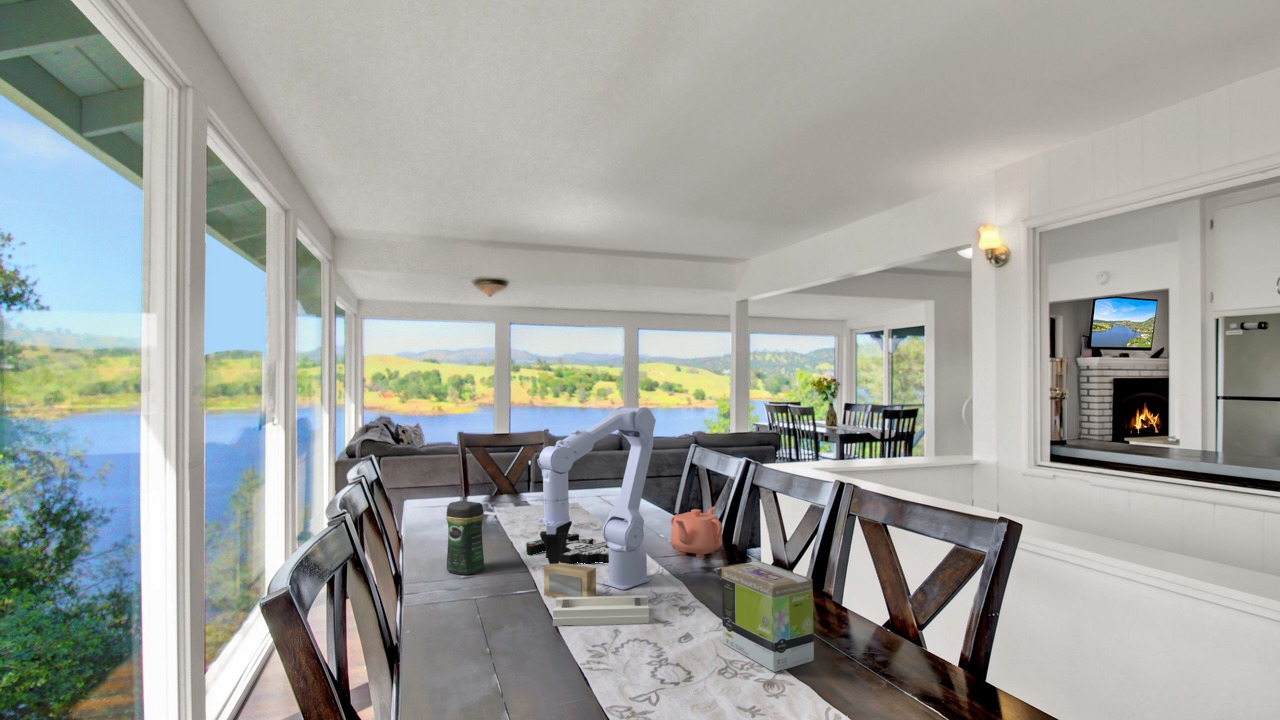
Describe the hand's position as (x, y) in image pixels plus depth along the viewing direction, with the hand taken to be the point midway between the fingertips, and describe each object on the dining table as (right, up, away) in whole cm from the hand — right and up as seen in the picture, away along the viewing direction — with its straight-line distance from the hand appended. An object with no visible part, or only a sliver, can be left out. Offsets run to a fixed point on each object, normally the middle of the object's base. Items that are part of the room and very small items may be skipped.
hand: (557, 558), depth 146 cm
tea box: (+43, -9, -28) cm, 52 cm away
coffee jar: (-28, -12, +25) cm, 40 cm away
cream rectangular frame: (+11, -10, -9) cm, 17 cm away
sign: (+1, -12, +39) cm, 41 cm away
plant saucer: (+47, -10, +11) cm, 49 cm away
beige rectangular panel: (+3, -10, +4) cm, 11 cm away
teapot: (+35, -11, +40) cm, 54 cm away
